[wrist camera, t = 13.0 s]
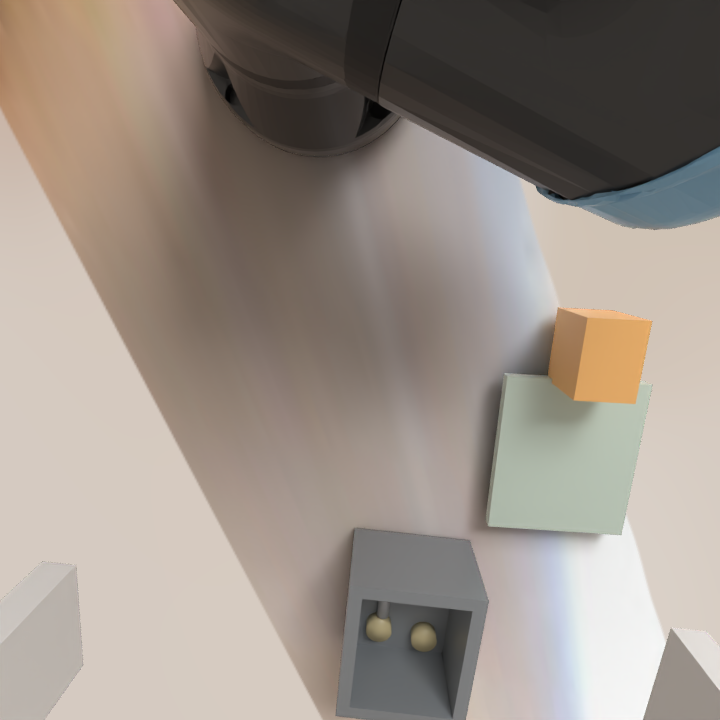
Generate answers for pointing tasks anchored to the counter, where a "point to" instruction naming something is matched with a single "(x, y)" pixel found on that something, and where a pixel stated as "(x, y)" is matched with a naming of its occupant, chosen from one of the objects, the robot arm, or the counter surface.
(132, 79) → the counter surface
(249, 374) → the counter surface
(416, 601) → the tub
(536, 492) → the lid
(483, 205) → the counter surface
